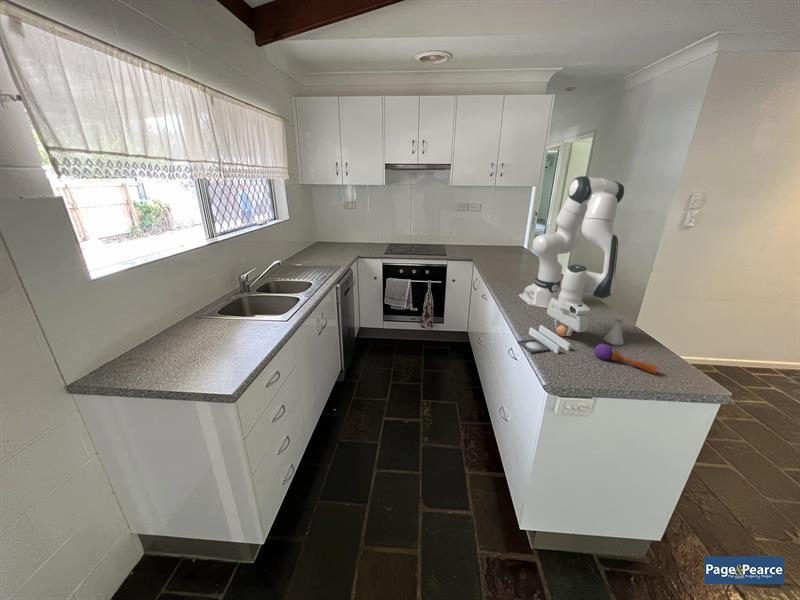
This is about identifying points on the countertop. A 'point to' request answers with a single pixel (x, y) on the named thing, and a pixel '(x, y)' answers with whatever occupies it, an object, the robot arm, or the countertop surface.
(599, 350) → the purple and orange maraca
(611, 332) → the flask
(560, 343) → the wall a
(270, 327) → the countertop surface
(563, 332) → the ball
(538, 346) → the gray square tray
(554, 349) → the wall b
